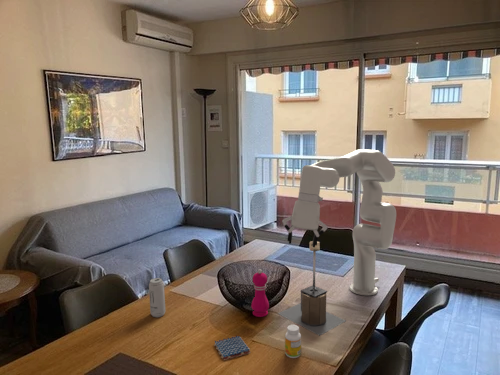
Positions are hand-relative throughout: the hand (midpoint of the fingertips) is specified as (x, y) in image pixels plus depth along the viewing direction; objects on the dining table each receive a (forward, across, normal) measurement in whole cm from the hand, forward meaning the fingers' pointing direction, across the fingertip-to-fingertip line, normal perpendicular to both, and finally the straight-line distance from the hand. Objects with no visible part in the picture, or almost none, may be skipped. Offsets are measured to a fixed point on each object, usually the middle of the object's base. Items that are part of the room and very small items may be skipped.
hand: (301, 244), depth 144 cm
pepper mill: (+33, +12, -13) cm, 38 cm away
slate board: (+31, -9, -11) cm, 34 cm away
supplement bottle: (+36, -1, +12) cm, 38 cm away
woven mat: (+39, +20, +11) cm, 45 cm away
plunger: (+19, -8, -7) cm, 21 cm away
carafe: (+30, -9, -8) cm, 32 cm away
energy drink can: (+40, +54, -12) cm, 68 cm away
